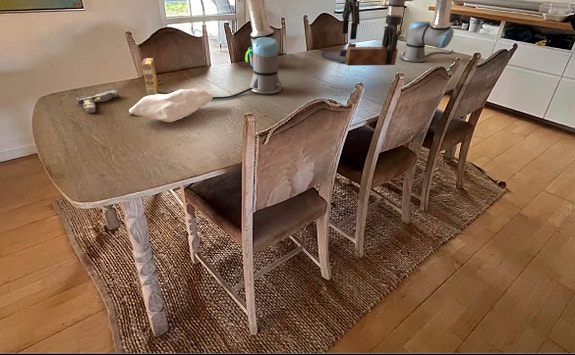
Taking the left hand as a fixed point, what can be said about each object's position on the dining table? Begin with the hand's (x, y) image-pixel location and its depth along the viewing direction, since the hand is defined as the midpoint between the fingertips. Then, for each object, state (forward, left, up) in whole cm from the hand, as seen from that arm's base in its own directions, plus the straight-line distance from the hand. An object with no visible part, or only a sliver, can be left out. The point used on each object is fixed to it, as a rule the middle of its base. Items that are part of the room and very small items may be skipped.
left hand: (348, 36), depth 180 cm
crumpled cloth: (-84, -36, -23) cm, 95 cm away
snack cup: (-43, +30, -23) cm, 57 cm away
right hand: (+23, +2, -14) cm, 27 cm away
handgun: (-115, -23, -23) cm, 119 cm away
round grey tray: (+18, +49, -23) cm, 57 cm away
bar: (+14, +2, -14) cm, 20 cm away
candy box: (-95, -13, -23) cm, 99 cm away
